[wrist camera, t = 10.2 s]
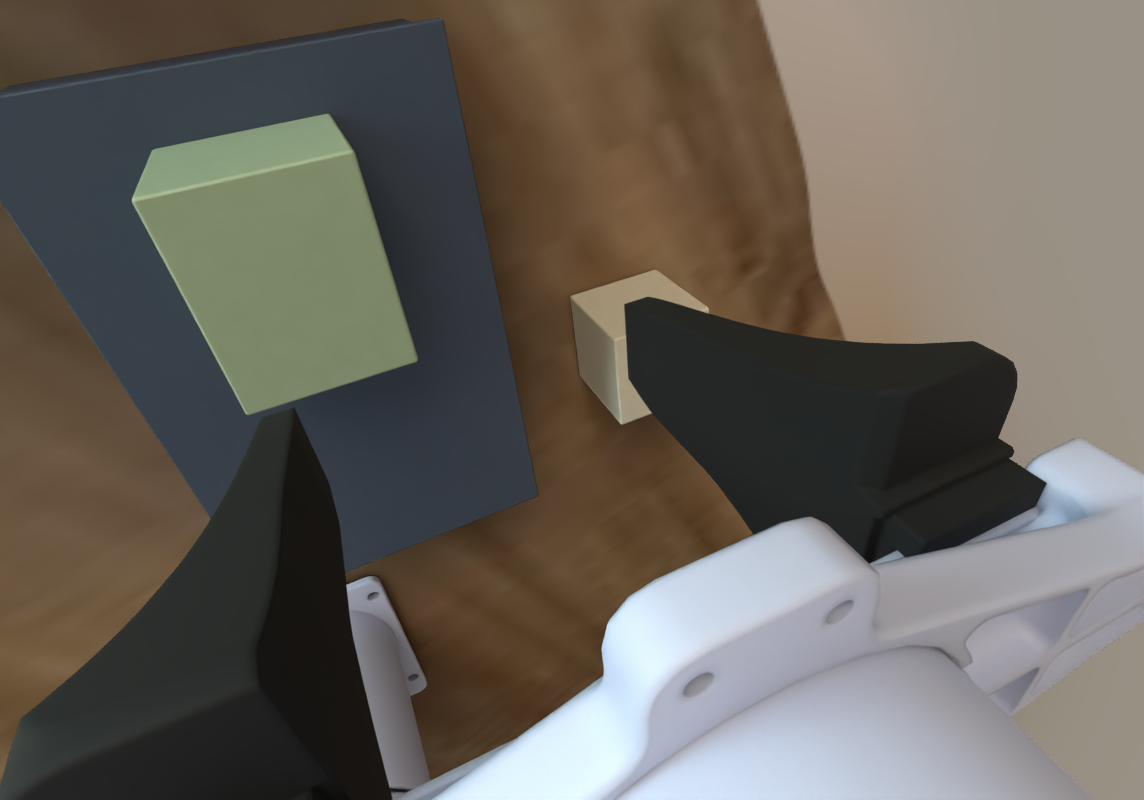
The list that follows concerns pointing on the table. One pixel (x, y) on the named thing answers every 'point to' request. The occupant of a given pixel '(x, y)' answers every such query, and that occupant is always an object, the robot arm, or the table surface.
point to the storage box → (408, 231)
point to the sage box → (277, 258)
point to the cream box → (617, 337)
